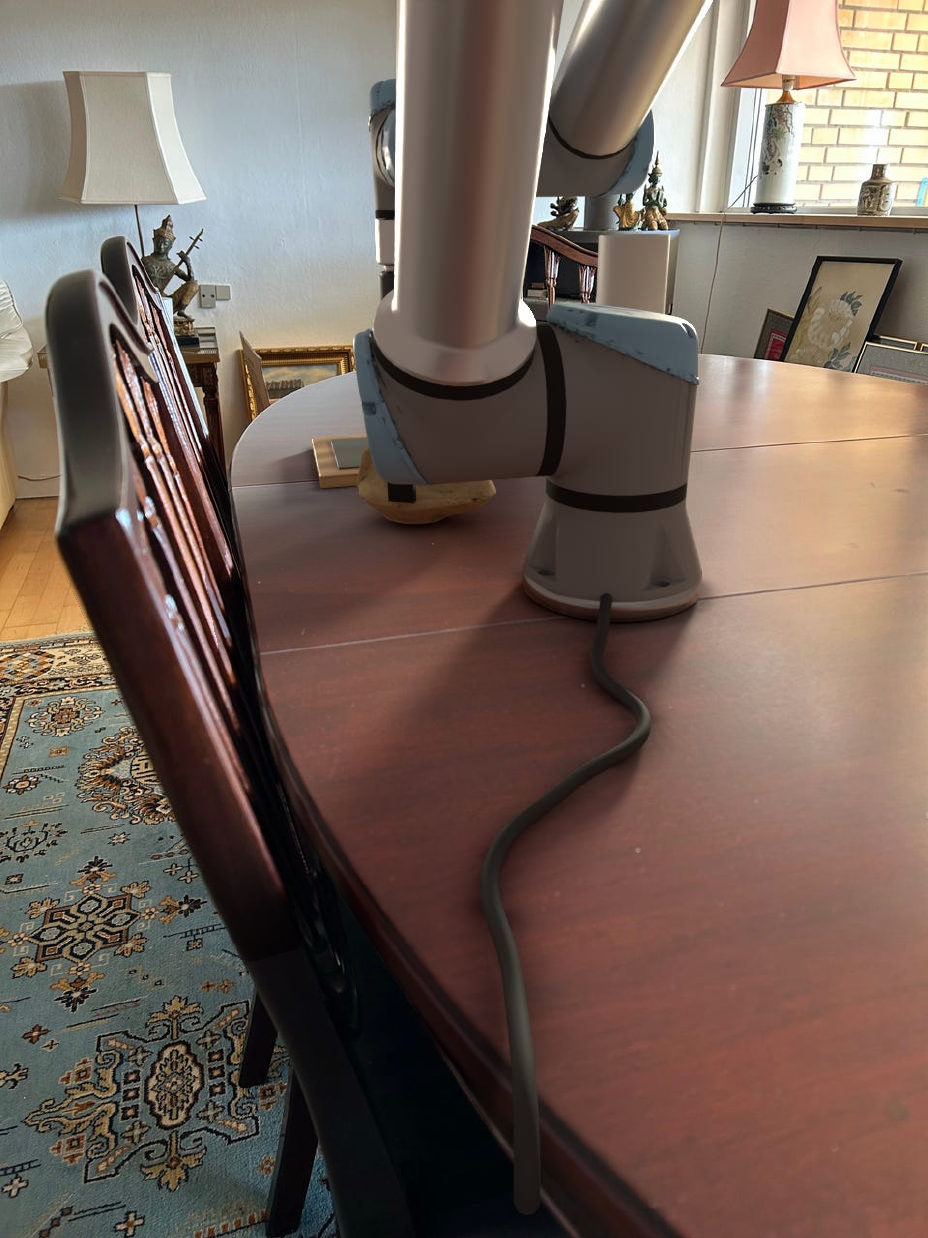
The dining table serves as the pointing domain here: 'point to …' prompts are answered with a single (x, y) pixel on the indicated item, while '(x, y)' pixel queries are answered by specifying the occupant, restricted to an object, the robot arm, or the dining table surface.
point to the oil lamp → (421, 496)
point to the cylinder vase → (633, 271)
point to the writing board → (338, 459)
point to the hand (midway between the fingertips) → (425, 482)
